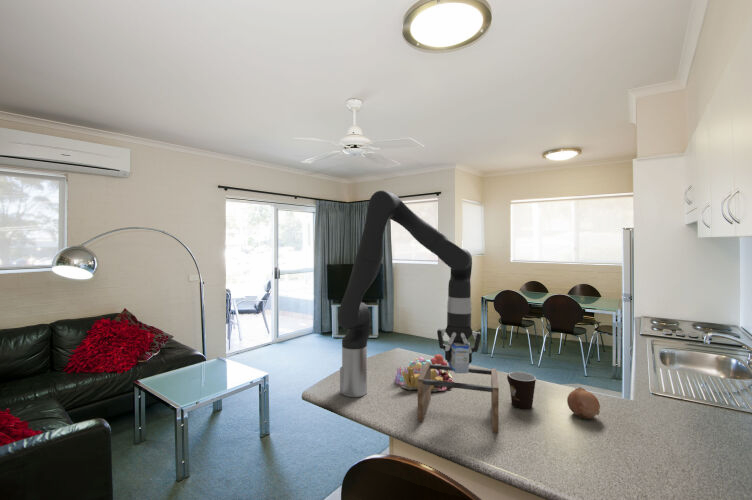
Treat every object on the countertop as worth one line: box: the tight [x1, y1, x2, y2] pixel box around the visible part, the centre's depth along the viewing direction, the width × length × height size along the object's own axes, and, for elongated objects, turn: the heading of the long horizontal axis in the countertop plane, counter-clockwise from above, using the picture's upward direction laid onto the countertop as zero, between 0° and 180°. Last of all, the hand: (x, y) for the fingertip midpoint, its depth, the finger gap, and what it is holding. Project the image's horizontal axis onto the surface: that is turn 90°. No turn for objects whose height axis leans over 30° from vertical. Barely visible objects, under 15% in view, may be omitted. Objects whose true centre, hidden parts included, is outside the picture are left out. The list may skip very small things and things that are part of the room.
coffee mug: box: [506, 371, 537, 411], centre depth 121 cm, size 12×9×10 cm
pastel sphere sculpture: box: [394, 353, 454, 393], centre depth 142 cm, size 25×24×9 cm
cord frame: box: [417, 362, 500, 433], centre depth 114 cm, size 24×17×13 cm
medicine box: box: [447, 342, 470, 374], centre depth 114 cm, size 8×4×9 cm, turn 4°
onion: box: [566, 386, 601, 420], centre depth 112 cm, size 9×9×10 cm
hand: (458, 362), depth 114 cm, fingers closed on medicine box, 5 cm apart
